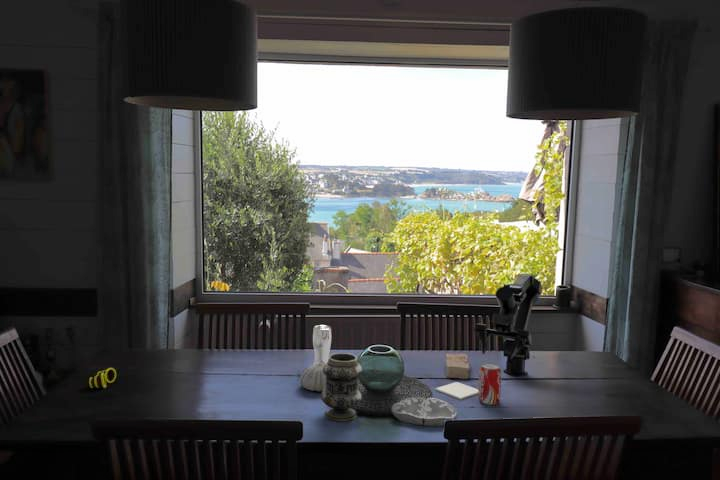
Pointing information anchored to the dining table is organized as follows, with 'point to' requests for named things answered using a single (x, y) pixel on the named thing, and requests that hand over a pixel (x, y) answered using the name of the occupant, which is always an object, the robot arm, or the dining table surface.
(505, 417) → the dining table surface
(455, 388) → the pad
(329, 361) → the apothecary jar
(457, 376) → the brick
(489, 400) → the soda can
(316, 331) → the beer glass
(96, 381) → the yellow coil spring
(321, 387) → the sea urchin shell
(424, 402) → the brain slice
